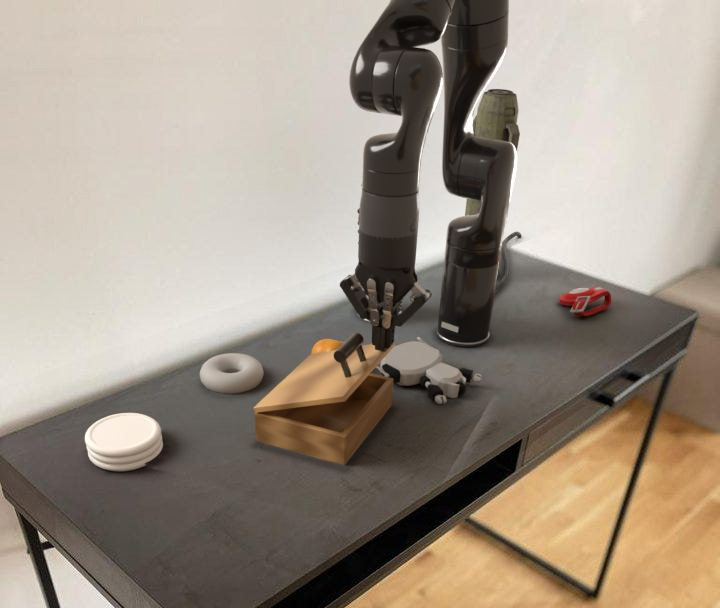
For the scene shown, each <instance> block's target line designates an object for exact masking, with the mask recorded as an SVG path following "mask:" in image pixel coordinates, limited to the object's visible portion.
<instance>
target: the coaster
mask: <svg viewBox="0 0 720 608" xmlns="http://www.w3.org/2000/svg"><path fill="white" fill-rule="evenodd" d="M84 443H85V445H86V446H85V447H86V451H87V457H88V458H89V461H90V462H92V464H93V465H94V466H96V467H98V468H99V469H101V470H106V471H109V472H110V471H111V472H129V471H134V470H135V471H136V470H138V469H141V468H144V467H145V466H148V465H149V464H148V462H150V461H152V460H153V459H155V458H156V457H157V456H159V454H160V453H161V451H162V450H163V447H164V442H163V435H162V428H161V426H160V424H159V422H158V421H156V419H154V418H152V417H150V416H149V415H146V414H143V413H137V412H121V413H114V414H110V415H108V416H105V417H103V418H100V419H98V420H97V421H95V422H94V423H92V424H91V425H90V426H89V427H88V428H87V429H86V431H85V434H84Z"/></svg>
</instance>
